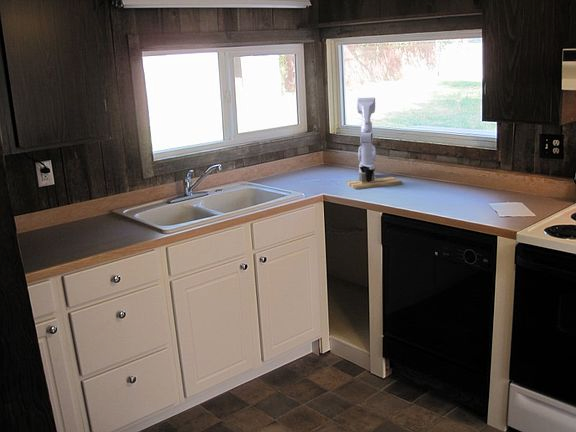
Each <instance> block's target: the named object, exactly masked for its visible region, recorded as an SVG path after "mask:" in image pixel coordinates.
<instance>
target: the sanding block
mask: <svg viewBox="0 0 576 432" xmlns="http://www.w3.org/2000/svg"><path fill="white" fill-rule="evenodd" d="M358 175H359V177H358V180H359V182H360V183H372V182H374V176H375V172H374V173H373V175H372V179H371V181H370V182H367V180H366V174H365V172H362V173H359V172H358Z"/></svg>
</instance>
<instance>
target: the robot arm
mask: <svg viewBox="0 0 576 432" xmlns="http://www.w3.org/2000/svg"><path fill="white" fill-rule="evenodd" d="M356 108H357V113H358V114H360V115H361V118H362V121H361V123H360V135H359V136H360V137H359V141H360V146H359V147H357V148H358V149H357V150H358V152H357V156H358V157H357V158H358V161H359V165H358V175H357V177H358V178H359V173H362V172H365V174H366V180H367V182H370V181H371V179H372V175H373V173H374V174H375V170H376V169H375V166H374V165H375V163H374V162H375V161H377V150H376V149H377V148H376V146H375V145H373V142H374V133H373V123H372V121H371V117H372V115H373V114H374V113H375V112H376V98H375V96H374V97H357V99H356ZM374 178H378V177H377V176H375V175H374Z"/></svg>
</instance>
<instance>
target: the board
mask: <svg viewBox="0 0 576 432" xmlns="http://www.w3.org/2000/svg"><path fill="white" fill-rule="evenodd" d="M346 184H347V186H349V187H351V188H352V189H355V190H363V189H372V188H381V187H391V186H399V185H403V181H402V180H400V179H397V178H396V177H393V176H385V177H377V178H374V182H372V183H360V182H359V179H358V180H357V179H356V180H354V179H353V180H347V181H346Z"/></svg>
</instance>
